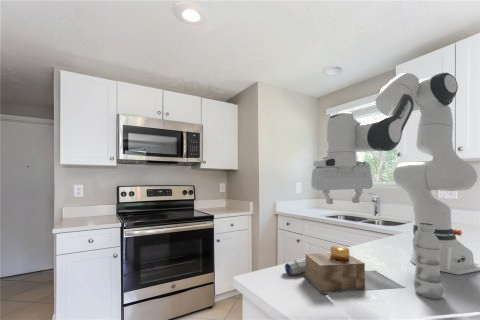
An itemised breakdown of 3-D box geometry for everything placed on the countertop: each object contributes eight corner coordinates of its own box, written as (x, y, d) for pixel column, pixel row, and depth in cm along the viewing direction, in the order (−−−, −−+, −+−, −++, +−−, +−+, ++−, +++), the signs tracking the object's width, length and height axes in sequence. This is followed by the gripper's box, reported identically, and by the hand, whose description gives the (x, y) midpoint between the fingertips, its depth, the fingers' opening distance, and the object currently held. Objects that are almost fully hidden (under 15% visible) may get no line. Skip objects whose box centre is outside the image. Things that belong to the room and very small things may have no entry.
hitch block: (375, 272, 86) (374, 249, 86) (405, 289, 73) (404, 263, 73) (303, 276, 82) (303, 252, 82) (322, 295, 69) (322, 267, 69)
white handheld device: (283, 260, 85) (343, 245, 93) (285, 280, 85) (345, 263, 93) (290, 266, 80) (353, 249, 88) (293, 286, 80) (355, 268, 88)
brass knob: (343, 275, 80) (342, 245, 80) (353, 283, 74) (352, 250, 75) (327, 276, 79) (327, 246, 79) (336, 284, 74) (336, 251, 74)
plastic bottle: (434, 305, 64) (432, 227, 65) (408, 293, 71) (406, 222, 72) (449, 300, 67) (446, 225, 68) (422, 289, 73) (420, 221, 74)
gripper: (363, 161, 87) (365, 201, 86) (308, 161, 83) (309, 203, 83) (376, 160, 81) (377, 203, 80) (317, 161, 77) (318, 205, 77)
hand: (342, 203), depth 81 cm, fingers open, 8 cm apart
